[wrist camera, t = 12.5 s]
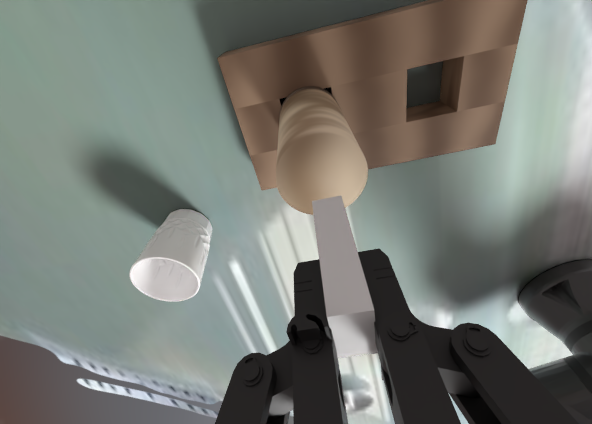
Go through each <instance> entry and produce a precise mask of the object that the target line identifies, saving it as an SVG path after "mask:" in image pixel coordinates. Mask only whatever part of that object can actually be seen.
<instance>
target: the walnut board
mask: <svg viewBox="0 0 592 424" xmlns="http://www.w3.org/2000/svg"><path fill="white" fill-rule="evenodd" d="M526 4H527V0H428V1H424V2H420V3H416V4H412V5H408V6H404V7H400V8H396V9H392V10H389V11H385V12H381V13H377V14H373V15H369V16H365V17H361V18H357V19H353V20H349V21H345V22H341V23H338V24H334V25H330V26H326V27H322V28H318V29H314V30H310V31H306V32H302V33H298V34H294V35H290V36H286V37H283V38H279V39H275V40H271V41H267V42H263V43H259V44H255V45H251V46H247V47H243V48H239V49H235V50H232V51H228V52H225V53H223V54H222V55H221V56H219V57H218V58H217V59H218V62H219V65H220V68H221V71H222V74H223V77H224V80H225V83H226V86H227V89H228V92H229V95H230V98H231V101H232V104H233V107H234V110H235V113H236V116H237V118H238V121H239V124H240V127H241V130H242V133H243V136H244V139H245V142H246V145H247V148H248V151H249V154H250V157H251V160H252V163H253V166H254V169H255V172H256V175H257V178H258V181H259V184H260V187H261V190H266V189H271V188H276V187H277V184H276V165H277V150H278V134H279V113H280V109H281V106H282V104H283V99H282V98H285V97H288V95H290V94H291V93H292V92H293V91H295V90H297V89H299V88H302V87H306V86H316V87H320V88H322V89H324V88H328V92H329V93H330V94H331V95H332V96H333V97H334V98H335V100H336V101H337V103H338V105H339V107H340V110H341V112H342V114H343V116H344V118H345V120H346V122H347V123H348V125H349V127H350V129H351V131H352V133H353V135H354V137H355V139H356V141H357V143H358V145H359V147H360V148H361V150H362V152H363V154H364V156H365V158H366V162H367V166H368V169H372V168H377V167H382V166H387V165H392V164H397V163H402V162H407V161H412V160H417V159H422V158H427V157H433V156H438V155H443V154H448V153H453V152H458V151H463V150H468V149H473V148H478V147H483V146H488V145H493V144H495V143H496V138H497V134H498V129H499V125H500V120H501V116H502V112H503V107H504V103H505V98H506V94H507V89H508V85H509V80H510V76H511V71H512V67H513V62H514V58H515V53H516V49H517V44H518V40H519V35H520V31H521V26H522V22H523V17H524V13H525V9H526ZM440 61H443V67H442V78H441V90H440V101H436V102H432V103H427V104H422V105H418V106H413V107H409V108H406V105H407V69H410V68H415V67H419V66H423V65H428V64H432V63H436V62H440Z"/></svg>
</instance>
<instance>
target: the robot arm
mask: <svg viewBox="0 0 592 424" xmlns="http://www.w3.org/2000/svg"><path fill="white" fill-rule="evenodd" d="M312 206H313V214H314V222H315V229H316V237H317V245H318V253H319V260H313V261H307V262H301V263H298V264H297V267H296V269H295V271H294V303H295V316H294V317H293V318H292V319H291V321H290V323H289V324H288V328H287V335H288V337H289V339H290V341H289V342H288V343H287V344H286V345H285V346H283V347H282V348H280V349H279V350H277V351H275V352H273V353H271V354H269V355H267V356H266V355H264V354H261V353H251V354H249V355H247V356H245V357H244V358H243V359H242V360H241V361H240V362H239V363H238V364H237V366H236V368H235V370H234V372H233V374H232V377H231V380H230V383H229V386H228V389H227V391H226V394H225V397H224V400H223V403H222V405H221V408H220V411H219V414H218V417H217V420H216V422H215V424H288V419H289V414H290V411H291V410H293V411H294V424H348V420H347V413H346V407H345V400H344V393H343V386H342V380H341V374H340V370H339V364H338V358H344V357H352V356H359V355H367V354H375V353H378V354H379V358H380V362H381V372H382V380H384V383H385V386H386V390H387V394H388V398H389V402H390V406H391V410H392V414H393V418H394V421H395V424H461V423H460V420H459V418H458V416H457V413H456V411H455V408H454V406H453V404H452V401H451V399H450V396H451V397H452V399H453V400H454V402H455V403H456V405H457V406H458V408H459V409H460V411H461V412H462V414H463V415H464V417H465V418H466V420H467V421H468V423H469V424H592V260H579V261H574V262H569V263H566V264H563V265H560V266H557V267H555V268H552V269H550V270H548V271H546V272H544V273H542V274H541V275H539V276H538V277H536V278H535V279H533V280H532V281H531V282H530V283H529V284H528V285H527V286H526V287H525V288H524V289H523V290H522V292H521V294H520V296H519V304H520V306H521V307H522V309H523V310H524V311H525V312H526V314H527V315H528V316H529V317H530V318H531V319H533V320H535V321H536V322H538V323H539V324H540V325H541V326H543V327H544V328H545V329H546V330H548V331H549V332H550V333H552V334H553V335H555V336H556V337H557V338H559V339H560V340H561V341H562V342H563V343H564V344H565V345H566V346H567V348H568V349H569V350H570V351H571V352H572V354H573V355H572V356H569V357H566V358H562V359H559V360H556V361H553V362H550V363H547V364H544V365H540V366H537V367H534V368H531V369H527V367H526V366H525V365H524V364H523V363H522V362H521V361H520V360H519V359H518V358H517V357H516V356H515V355H514V354H513V353H512V352H511V350H510V349H509V348H508V347H507V346H506V345H505V344H504V343H503V342H502V341H501V340H500V339H499V338H498V337H497V336H496V335H495V334H494V333H493V332H491V331H490V330H489V329H487V328H485V327H483V326H481V325H479V324H473V323H465V324H460V325H458V326H457V327H456V328H454V330H451V329H445V328H439V327H433V326H430V325H427V324H425V323H423V322H421V321H419V320H418V319H417V318H416V317H415V316H414V315H413V314H412V313H411V311H410V310H409V308H408V305H407V303H406V300H405V298H404V295H403V293H402V290H401V288H400V285H399V283H398V280H397V278H396V276H395V273H394V271H393V269H392V266H391V263H390V261H389V258H388V256H387V255H386V254H385V253H383V252H382V251H381V250H380V249H374V250H368V251H362V252H357V248H356V245H355V241H354V238H353V234H352V231H351V227H350V224H349V220H348V217H347V214H346V210H345V207H344V203H343V200H342V196H336V197H330V198H325V199H320V200H315V201H312ZM448 393H449V394H450V396H449V394H448Z"/></svg>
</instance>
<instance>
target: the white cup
mask: <svg viewBox="0 0 592 424" xmlns="http://www.w3.org/2000/svg"><path fill="white" fill-rule="evenodd" d="M212 229H213V228H212V226H211V224H210V221H209V220H208V219H207V218H206V217H205V216H204V215H202V214H201V213H199V212H196V211H194V210H191V209H178V210H176V211H173V212H171V213H170V214H169V215H168V216H167V218H166V219H165V220H164V222H163V223H162V225H161V226H160V227H159V228H158V229H157V231H156V232H155V233H154V234H153V236H152V237H151V239H150V240H149V242H148V243H147V245H146V246H145V248H144V249H143V251H142V252H141V254H140V255H139V257H138V258H137V260H136V261H135V263H134V264H133V266H132V267H131V269H130V279H131V281H132V283H133V285H134V286H135V287H136V288H137V289H138V290H139V291H141V292H142V293H144V294H145V295H147V296H149V297H152V298H155V299H158V300H162V301H172V302H174V301H183V300H186V299H189V298H191V297H193V296H194V295H195V294H196V293H197V292H198V290H199V288H200V284H201V280H202V276H203V272H204V268H205V264H206V261H207V257H208V252H209V247H210V240H211V236H212Z"/></svg>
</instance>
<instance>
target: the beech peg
mask: <svg viewBox="0 0 592 424" xmlns="http://www.w3.org/2000/svg"><path fill="white" fill-rule="evenodd" d="M367 177H368V166H367V162H366V158H365V156H364V154H363V152H362V150H361V148H360V147H359V145H358V143H357V141H356V139H355V137H354V135H353V133H352V131H351V129H350V127H349V125H348V123H347V122H346V120H345V118H344V116H343V114H342V112H341V110H340V107H339V105H338V103H337V101H336V100H335V98H334V97H333V96H332V95H331V94H330V93H329V92H328V91H326V90H325V89H322V88H320V87H316V86H306V87H302V88H299V89H297V90H295V91H293V92H292V93H291V94H290V95H288V97H287V98H286V99H285V100H284V102H283V104H282V106H281V109H280V113H279V134H278V150H277V165H276V184H277V188H278V191H279V193H280V195H281V196H282V198H283V199H284V200H285V201H286V202H287V203H288V204H289V205H290V206H291V207H293V208H294V209H296V210H298V211H300V212H303V213H306V214H312V215H314V214H313V206H312V201H315V200H320V199H325V198H330V197H336V196H342V200H343V203H344V207H345V208H346V207H347V206H349V205H350V204H352V203H353V202H354V201H355V200H356V199H357V198H358V197H359V195H360V194H361V193H362V191H363V189H364V187H365V185H366V182H367Z"/></svg>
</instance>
